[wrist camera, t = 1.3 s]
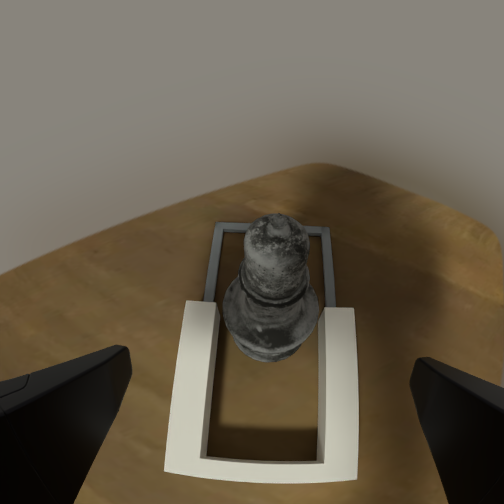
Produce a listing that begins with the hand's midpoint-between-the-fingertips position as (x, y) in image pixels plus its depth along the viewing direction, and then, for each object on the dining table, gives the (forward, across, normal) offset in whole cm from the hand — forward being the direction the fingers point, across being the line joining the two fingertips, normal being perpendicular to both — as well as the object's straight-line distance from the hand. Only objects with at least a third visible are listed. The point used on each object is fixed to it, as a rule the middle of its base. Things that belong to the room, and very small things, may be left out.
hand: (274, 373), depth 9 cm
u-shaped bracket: (+9, 0, +8) cm, 12 cm away
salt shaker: (+13, 0, +4) cm, 13 cm away
